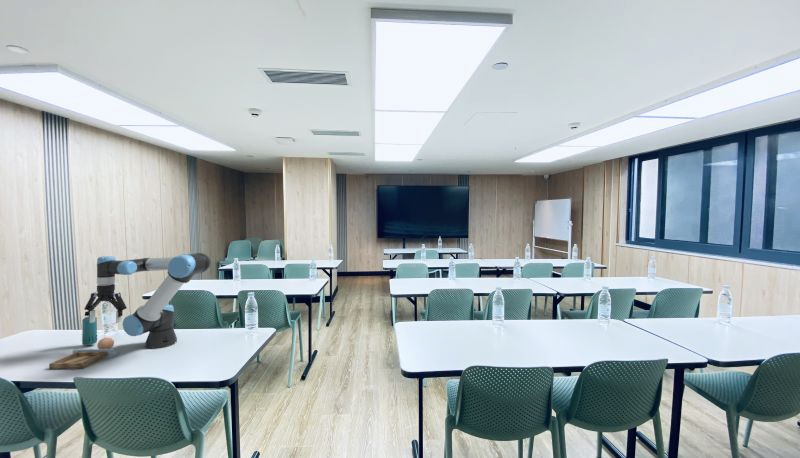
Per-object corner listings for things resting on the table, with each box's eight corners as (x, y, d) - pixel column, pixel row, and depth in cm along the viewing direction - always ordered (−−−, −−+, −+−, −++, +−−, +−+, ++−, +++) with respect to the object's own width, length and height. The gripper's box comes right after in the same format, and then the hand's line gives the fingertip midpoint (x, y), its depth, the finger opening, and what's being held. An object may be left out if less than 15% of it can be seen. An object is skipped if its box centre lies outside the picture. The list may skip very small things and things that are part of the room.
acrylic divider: (118, 353, 180) (118, 347, 180) (111, 357, 175) (111, 350, 175) (76, 354, 178) (76, 347, 178) (68, 358, 173) (68, 351, 173)
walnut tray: (107, 356, 176) (107, 351, 176) (82, 368, 161) (82, 363, 161) (76, 356, 175) (76, 352, 175) (49, 369, 160) (49, 364, 160)
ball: (117, 347, 188) (117, 335, 188) (107, 352, 181) (107, 339, 181) (104, 347, 188) (104, 335, 188) (93, 352, 181) (93, 340, 181)
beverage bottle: (87, 348, 187) (87, 313, 186) (78, 347, 188) (78, 312, 188) (100, 344, 193) (100, 310, 193) (91, 343, 194) (91, 309, 194)
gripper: (134, 283, 189) (134, 320, 189) (87, 282, 187) (87, 320, 187) (124, 285, 181) (124, 324, 182) (75, 285, 179) (75, 324, 180)
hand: (105, 322), depth 184 cm, fingers open, 13 cm apart
